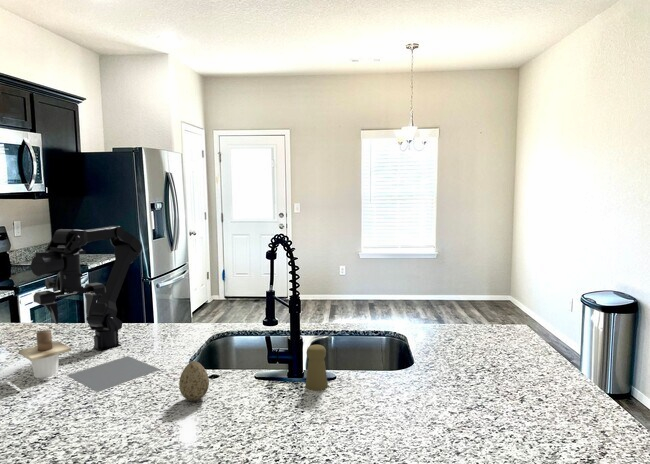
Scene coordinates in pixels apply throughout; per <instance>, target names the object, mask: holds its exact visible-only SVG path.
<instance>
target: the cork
mask: <svg viewBox="0 0 650 464" xmlns="http://www.w3.org/2000/svg"><path fill="white" fill-rule="evenodd" d="M305 353H306V357H307V359H308V362H307V372H306V376H305V377H306V380H305V388H306V389H307V391H308V390H309V391H311V392H322V391H325V390H326V389H327V388H328V387H329V383H328V377H327V370H326V363H325V357H326V355H327V349H326V347H325V346H324V345H321V344H312V345H309V346H308V347H307V349H306V352H305Z"/></svg>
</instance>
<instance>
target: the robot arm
mask: <svg viewBox="0 0 650 464" xmlns="http://www.w3.org/2000/svg"><path fill="white" fill-rule="evenodd" d="M108 239H109V241H110V244H111V245H112V247H114V250H113V255H114V259H115V260H114V263H113V265H112V268H111V270H110V273H109V276H108V278H107V281H106V283H105V284H104V283H100V282H89V283H85V285H84V286H83V285H82V277H83V273H82V272H81V258H80V255H84V254H86V251H85V250H83V249H82V248H81V247H83V246H85V245H87V243H91V242H96V241H97V242H98V241H103V240H108ZM142 250H143V245H142V243H141V241H140V239H138V238H137V237H136V236H135V235H133V234H131V233H130V232H128V231H126V230H125V228H124V227H122V226H120V225H109V226H103V227H98V228H91V229H67V228H66V229H65V228H64V229H63V228H60V229H57V230H55V232H54V234H53V237H52V238H51V239H50V242H49V244H48V245H47V247H46V249H45V250H44V251H37V252H36V251H35V253H34V254H35V255H34V257H33V258H32V260H31V263H30V270H31V272H32V273H33V275H35V276H37V277H42V276H46V275H52V274H56V279H55V277H46V278H45V283H44V284H45V289H46V290H43V291H36V292H35V293H34V294H33V296H32V297H33V298H32V299H33V302H34V303H36V304H39V305H41V306H44V307H45V308H46V309H47V311H48V312H49V314H50V316H51V318H52V320H53V321H54V324H56V325H58V324H59V310H58V309H59V306H58V302H56V300H57V299H61V298H65V297H67V298H68V297H72V296H76V295H83V294H84V297H85V300H86V301H85V304H86V305H85V308H86V310H85V312H86V321H87V324H88V325H89V327H90V329H91V331H94V336H93V341H94V342H93V344H94V345H93V349H95V350H98V351H101V352H105V351H108V350H113V349H115V348H118V347H122V344H121V343H120V342H119V341H120V340H119V330H122V327H123V321H122V320H121V319H119V318H118V317H117V314H118V308H117V301H118V298H119V295H120V292H121V290H122V286H123V284H124V282H125V278H126V276H127V274H128V271H129V268H130V266H131V264H132V263H134V261H135V260H137V259H138V257H139V255H140V254H141V251H142ZM50 289H52V290H50Z"/></svg>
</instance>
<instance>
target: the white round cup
mask: <svg viewBox="0 0 650 464" xmlns="http://www.w3.org/2000/svg"><path fill="white" fill-rule="evenodd" d="M59 355H60V354H57V355H54V356H50V357H46V358H42V359H39V360H35V361H31V366H32V370H33V376H34V378H36V379H44V378H49V377H53V376H55V375H57V374H58V373H59V372H58V371H59Z"/></svg>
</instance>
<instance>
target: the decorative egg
mask: <svg viewBox="0 0 650 464" xmlns="http://www.w3.org/2000/svg"><path fill="white" fill-rule="evenodd" d="M209 385H210V379H209V375H208V372H207V370H206V369H205V367H204V366H203V365H202V364H201V363H200V362H198V361H196V360H192V361H190V362H188V363H187V364H186V366H185V367H184V368H183V370H182V372H181V374H180V377H179V383H178V388H179V391H180V394H181V395H182V397H183V398H184V399H186V400H188V401H190V402H195V401H196V402H197V401H199V400H201V399H202V398H204V397H205V396H206V394H207V392H208V390H209Z"/></svg>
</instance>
